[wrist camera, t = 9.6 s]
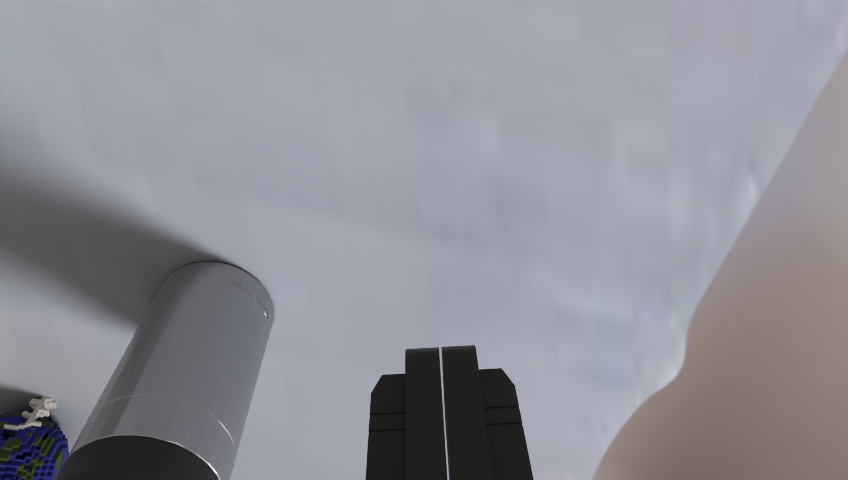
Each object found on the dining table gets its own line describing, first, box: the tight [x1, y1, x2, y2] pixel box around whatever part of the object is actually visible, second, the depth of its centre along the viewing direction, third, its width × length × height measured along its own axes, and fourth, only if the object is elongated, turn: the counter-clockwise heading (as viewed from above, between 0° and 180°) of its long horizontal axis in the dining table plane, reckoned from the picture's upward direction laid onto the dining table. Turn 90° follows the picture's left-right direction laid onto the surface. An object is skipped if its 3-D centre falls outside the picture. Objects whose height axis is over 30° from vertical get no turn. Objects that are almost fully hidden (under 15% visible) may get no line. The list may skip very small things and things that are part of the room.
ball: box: [0, 397, 69, 480], centre depth 56 cm, size 8×8×8 cm
